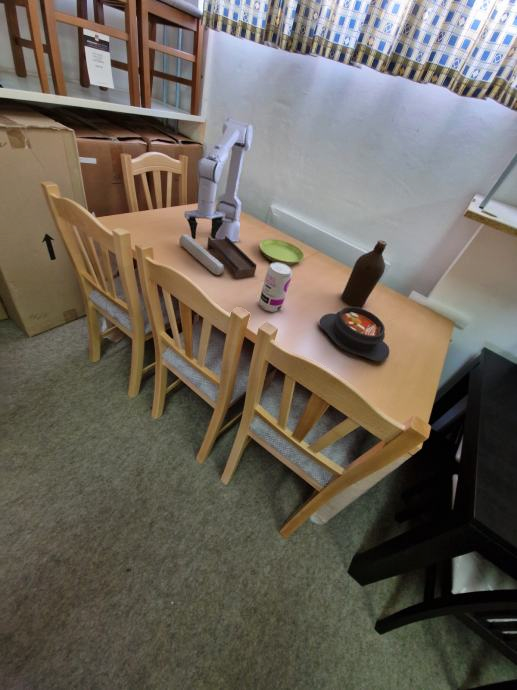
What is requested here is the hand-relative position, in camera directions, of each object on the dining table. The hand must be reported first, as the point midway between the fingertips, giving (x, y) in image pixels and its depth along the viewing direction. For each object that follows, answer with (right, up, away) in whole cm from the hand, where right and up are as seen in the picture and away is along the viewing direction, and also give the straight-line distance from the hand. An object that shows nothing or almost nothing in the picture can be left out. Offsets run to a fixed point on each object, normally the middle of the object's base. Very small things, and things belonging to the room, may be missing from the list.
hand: (203, 237), depth 109 cm
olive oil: (+58, -22, +9) cm, 63 cm away
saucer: (+30, 0, +24) cm, 39 cm away
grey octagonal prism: (-2, -7, +7) cm, 10 cm away
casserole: (+52, -38, -10) cm, 65 cm away
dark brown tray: (+9, -6, +10) cm, 15 cm away
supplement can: (+25, -26, -6) cm, 36 cm away
